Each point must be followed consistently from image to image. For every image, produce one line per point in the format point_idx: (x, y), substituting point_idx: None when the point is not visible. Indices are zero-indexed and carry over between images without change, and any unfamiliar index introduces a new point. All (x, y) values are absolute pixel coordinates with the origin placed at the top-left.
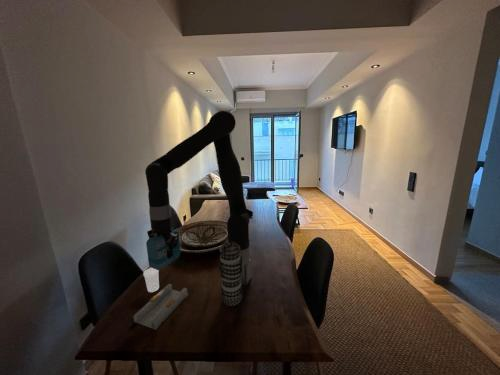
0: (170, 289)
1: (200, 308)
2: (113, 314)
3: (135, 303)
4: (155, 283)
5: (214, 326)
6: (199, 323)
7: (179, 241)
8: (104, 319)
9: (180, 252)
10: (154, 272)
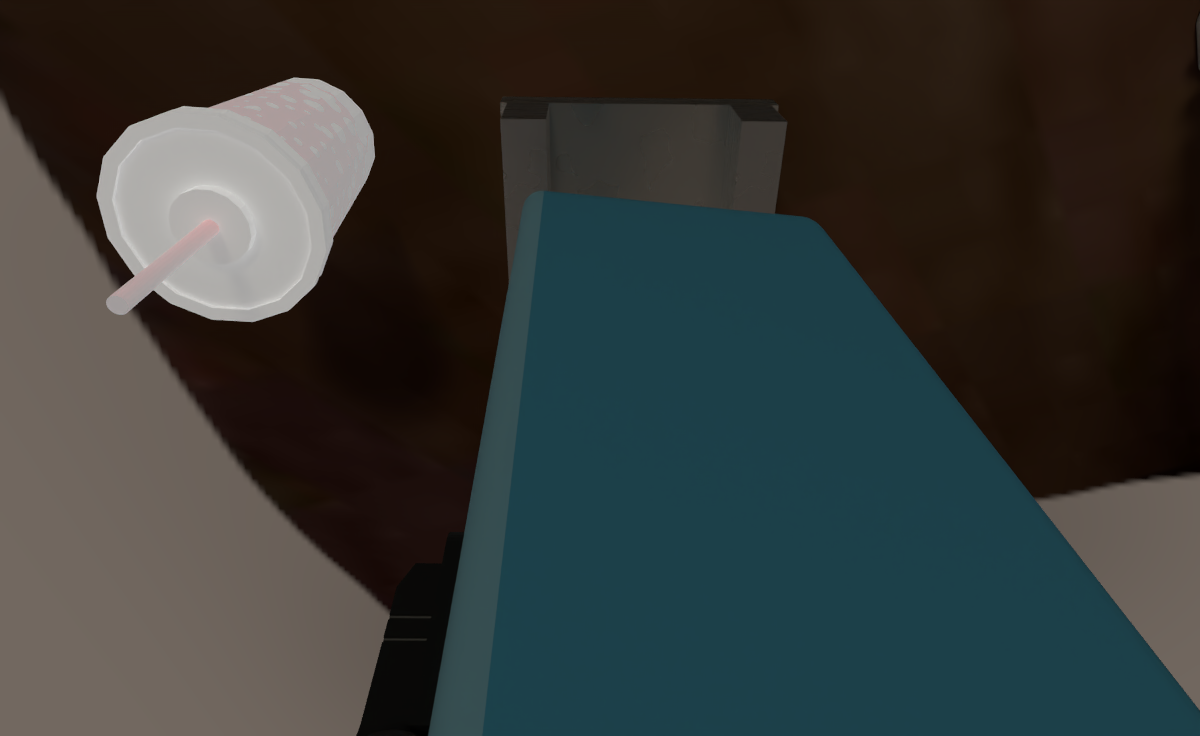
0: (548, 136)
1: (977, 207)
2: (291, 470)
3: (335, 345)
4: (352, 195)
5: (1154, 325)
6: (1020, 338)
7: (990, 445)
8: (281, 513)
9: (825, 232)
10: (280, 222)
